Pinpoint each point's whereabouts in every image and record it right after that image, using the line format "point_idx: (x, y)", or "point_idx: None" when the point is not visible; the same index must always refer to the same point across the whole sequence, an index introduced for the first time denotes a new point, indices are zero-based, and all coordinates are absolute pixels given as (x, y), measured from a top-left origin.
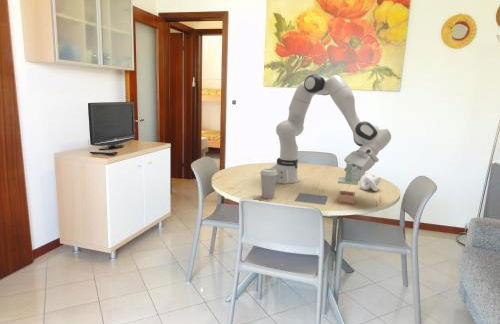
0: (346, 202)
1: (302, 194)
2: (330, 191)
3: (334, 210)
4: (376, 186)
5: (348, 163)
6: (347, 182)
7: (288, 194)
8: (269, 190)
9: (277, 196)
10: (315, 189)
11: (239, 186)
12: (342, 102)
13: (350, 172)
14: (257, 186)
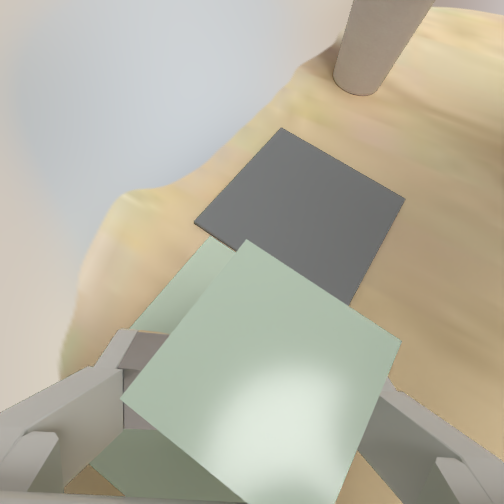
0: None
1: (378, 200)
2: (461, 409)
3: (106, 225)
4: None
5: (237, 295)
6: (145, 312)
7: (389, 154)
8: (343, 36)
9: (360, 107)
10: (495, 325)
11: (489, 55)
12: None
13: (126, 330)
14: (501, 100)
